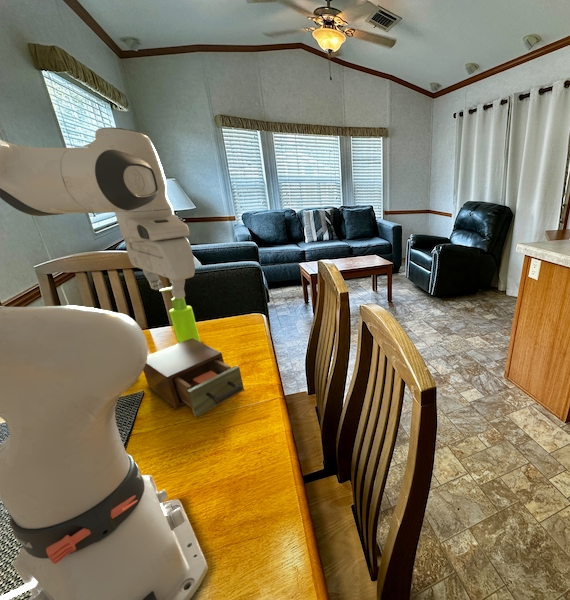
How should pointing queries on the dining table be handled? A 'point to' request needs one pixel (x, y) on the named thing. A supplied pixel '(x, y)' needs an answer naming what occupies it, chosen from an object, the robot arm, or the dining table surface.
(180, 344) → the cabinet
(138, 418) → the dining table surface
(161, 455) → the dining table surface
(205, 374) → the block
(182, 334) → the soap dispenser
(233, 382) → the drawer
